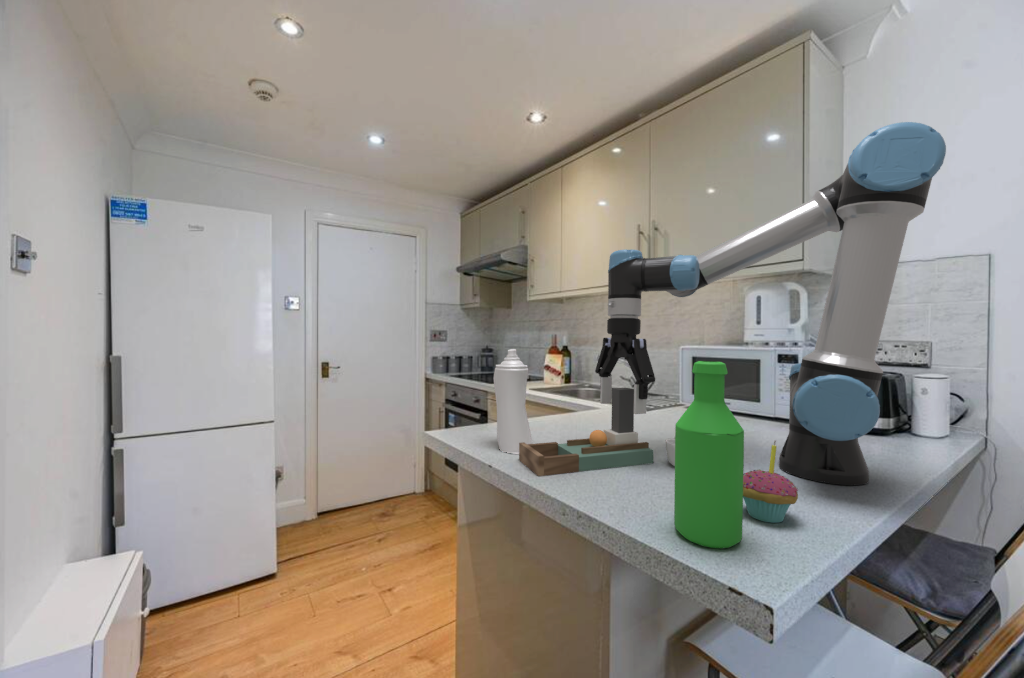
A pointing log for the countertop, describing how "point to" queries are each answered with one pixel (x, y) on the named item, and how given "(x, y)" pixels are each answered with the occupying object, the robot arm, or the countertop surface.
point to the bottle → (709, 464)
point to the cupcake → (768, 493)
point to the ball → (598, 438)
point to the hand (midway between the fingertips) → (621, 408)
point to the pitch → (607, 457)
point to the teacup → (670, 450)
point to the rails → (605, 448)
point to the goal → (547, 459)
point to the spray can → (511, 403)
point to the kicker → (622, 418)
